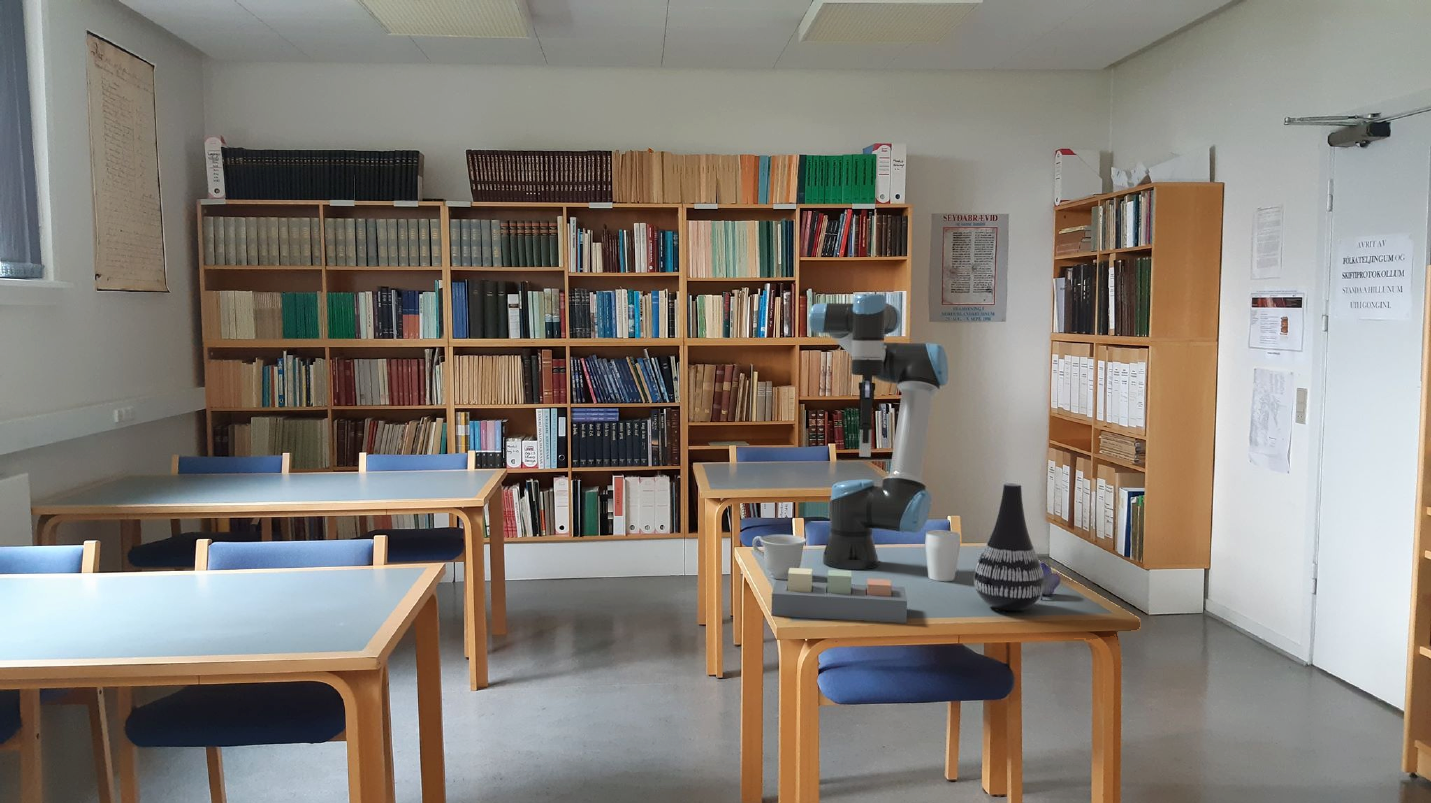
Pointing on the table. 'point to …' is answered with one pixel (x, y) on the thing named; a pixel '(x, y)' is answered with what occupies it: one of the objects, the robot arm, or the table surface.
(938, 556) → the cup
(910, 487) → the robot arm
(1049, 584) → the flower
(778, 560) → the teacup
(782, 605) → the panel
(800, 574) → the button cream
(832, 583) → the button sage
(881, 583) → the button terracotta
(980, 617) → the table surface
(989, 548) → the vase
